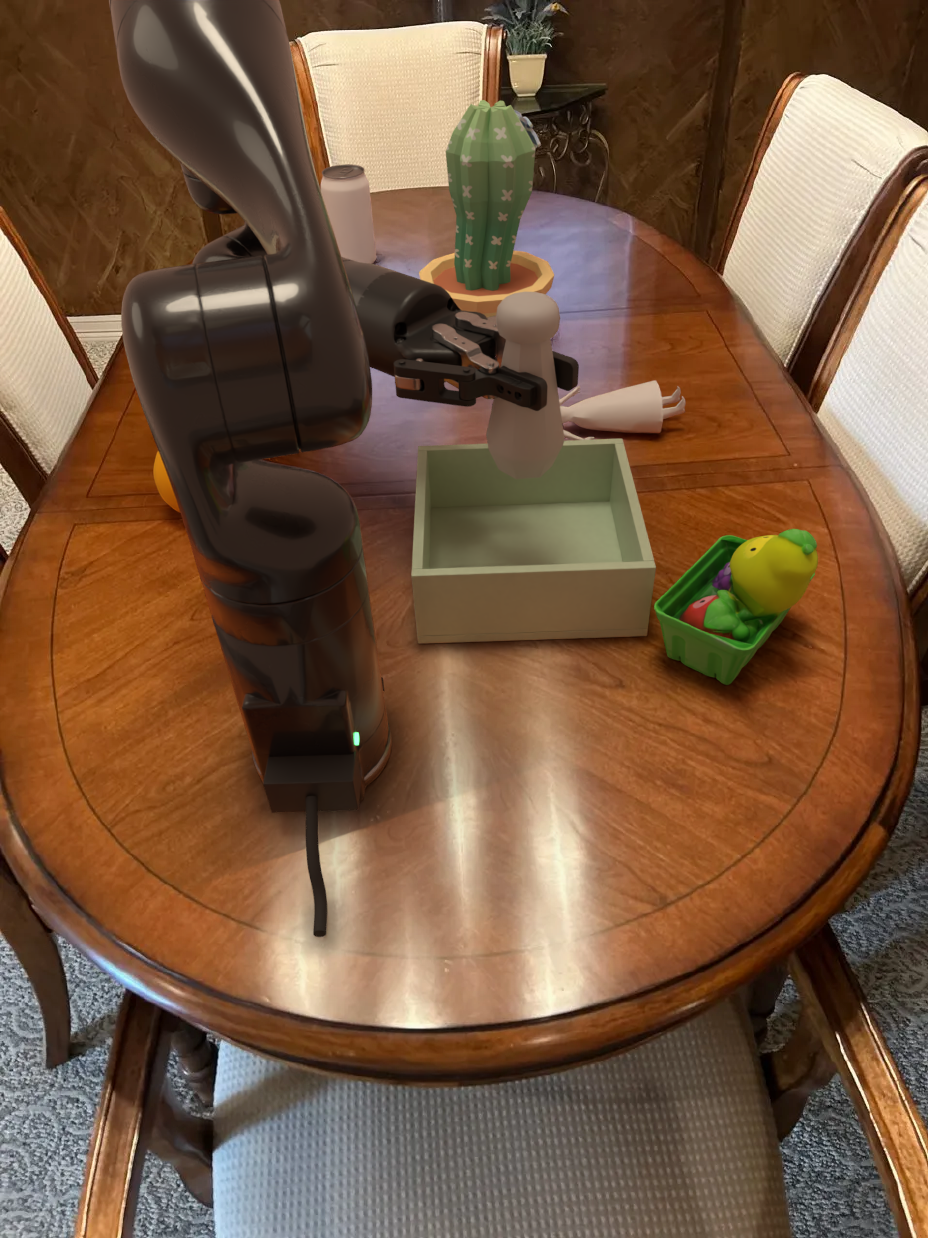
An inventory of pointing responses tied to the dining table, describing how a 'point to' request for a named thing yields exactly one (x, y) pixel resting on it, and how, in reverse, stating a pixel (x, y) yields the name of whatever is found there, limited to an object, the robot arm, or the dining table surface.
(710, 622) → the fruit basket
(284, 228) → the robot arm
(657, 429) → the woman figurine
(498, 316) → the salt shaker
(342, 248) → the can
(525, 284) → the potted cactus
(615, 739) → the dining table surface
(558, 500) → the bin
